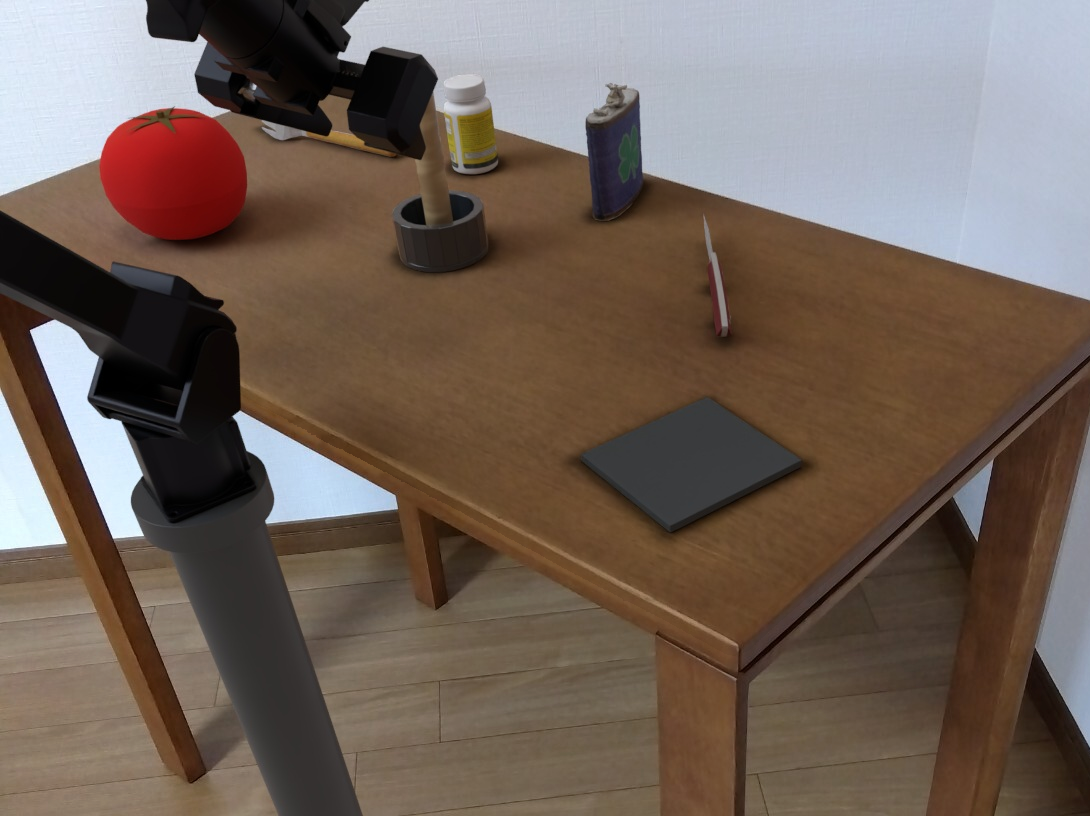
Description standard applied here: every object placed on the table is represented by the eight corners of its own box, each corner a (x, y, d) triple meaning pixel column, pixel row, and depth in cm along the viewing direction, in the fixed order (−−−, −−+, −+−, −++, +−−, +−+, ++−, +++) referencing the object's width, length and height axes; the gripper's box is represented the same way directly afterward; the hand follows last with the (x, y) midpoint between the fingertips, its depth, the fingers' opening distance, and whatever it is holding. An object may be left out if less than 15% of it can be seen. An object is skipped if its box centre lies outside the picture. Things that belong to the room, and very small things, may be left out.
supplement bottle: (507, 161, 117) (497, 76, 111) (480, 178, 114) (468, 91, 109) (470, 154, 119) (459, 69, 114) (442, 170, 116) (429, 85, 111)
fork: (402, 137, 119) (260, 107, 127) (391, 139, 118) (248, 108, 126) (402, 162, 121) (262, 131, 129) (391, 164, 119) (250, 133, 127)
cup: (426, 281, 99) (418, 237, 96) (384, 250, 104) (376, 207, 101) (505, 253, 102) (499, 210, 99) (460, 224, 107) (454, 182, 104)
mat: (670, 533, 72) (670, 525, 71) (581, 460, 78) (580, 453, 77) (801, 467, 76) (802, 459, 75) (707, 403, 82) (707, 396, 82)
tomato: (209, 264, 104) (171, 142, 96) (98, 246, 108) (53, 128, 100) (285, 210, 111) (255, 94, 104) (178, 196, 116) (142, 83, 108)
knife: (733, 348, 87) (734, 312, 85) (716, 349, 88) (717, 313, 86) (709, 232, 102) (709, 199, 100) (695, 232, 103) (695, 200, 100)
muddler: (438, 255, 101) (411, 91, 92) (425, 246, 103) (397, 84, 93) (461, 246, 102) (437, 84, 93) (448, 238, 104) (423, 77, 94)
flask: (623, 180, 112) (618, 65, 105) (651, 183, 111) (648, 67, 104) (586, 219, 106) (578, 101, 99) (616, 223, 105) (610, 104, 98)
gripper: (407, -80, 71) (513, 66, 85) (189, -113, 78) (321, 27, 92) (340, 87, 71) (457, 204, 85) (128, 38, 78) (269, 154, 92)
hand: (374, 141), depth 89 cm, fingers open, 9 cm apart
